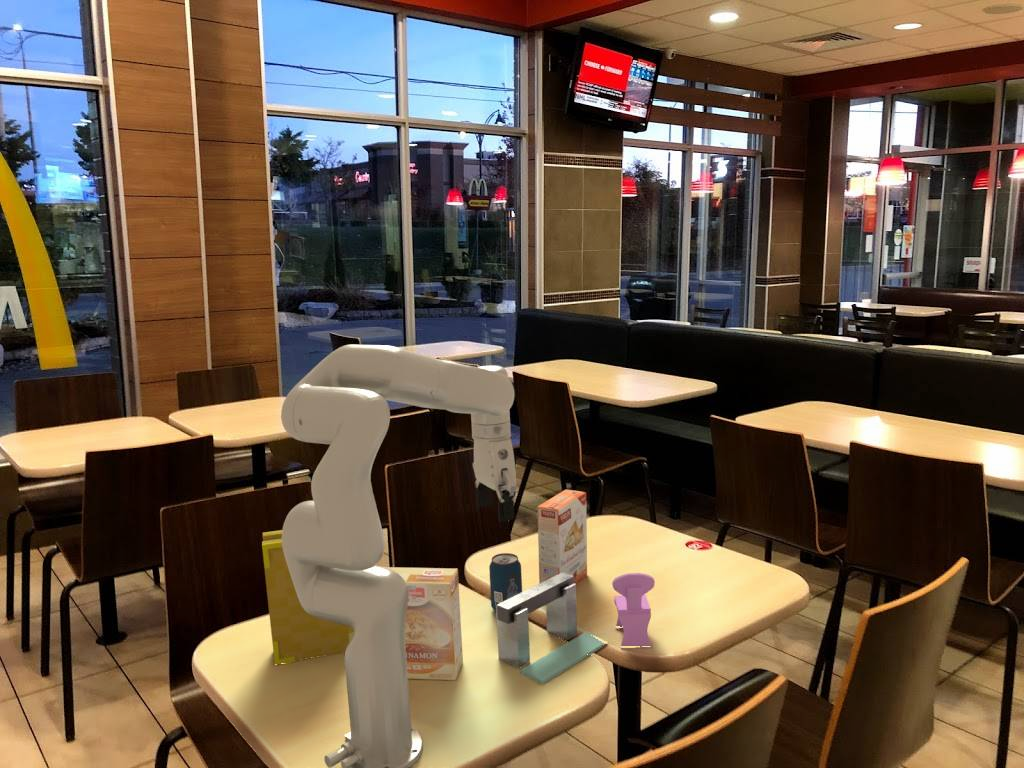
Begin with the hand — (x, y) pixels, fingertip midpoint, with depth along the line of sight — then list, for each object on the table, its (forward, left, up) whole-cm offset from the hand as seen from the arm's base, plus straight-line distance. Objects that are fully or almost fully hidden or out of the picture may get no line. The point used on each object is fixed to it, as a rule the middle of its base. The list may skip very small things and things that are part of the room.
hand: (495, 512), depth 159 cm
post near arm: (-5, -9, -27) cm, 28 cm away
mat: (+2, -16, -27) cm, 31 cm away
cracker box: (+27, +6, -27) cm, 38 cm away
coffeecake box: (-19, +2, -27) cm, 33 cm away
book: (-28, +24, -27) cm, 46 cm away
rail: (+2, -9, -18) cm, 20 cm away
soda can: (+9, +7, -27) cm, 29 cm away
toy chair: (+17, -21, -27) cm, 38 cm away
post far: (+9, -9, -27) cm, 29 cm away
